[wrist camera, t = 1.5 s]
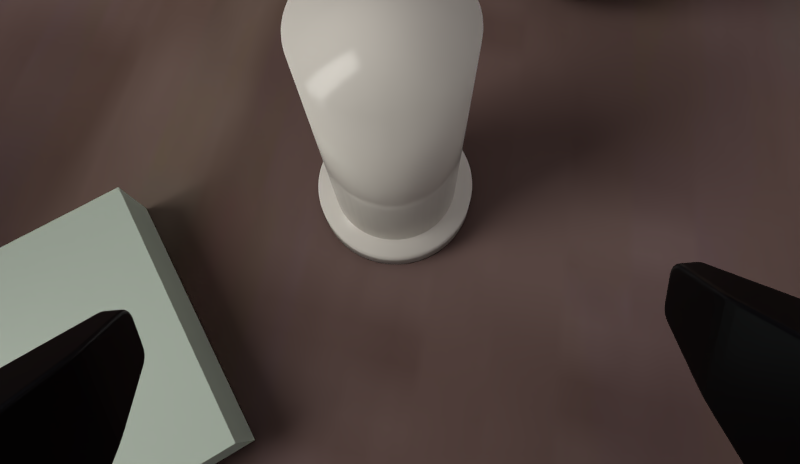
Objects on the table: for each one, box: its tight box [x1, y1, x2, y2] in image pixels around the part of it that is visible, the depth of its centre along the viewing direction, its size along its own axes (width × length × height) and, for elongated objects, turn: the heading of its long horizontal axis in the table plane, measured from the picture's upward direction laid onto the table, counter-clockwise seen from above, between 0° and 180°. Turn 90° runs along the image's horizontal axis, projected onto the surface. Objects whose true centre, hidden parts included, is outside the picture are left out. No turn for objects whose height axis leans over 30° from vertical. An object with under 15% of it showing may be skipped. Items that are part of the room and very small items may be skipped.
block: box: [0, 187, 255, 464], centre depth 21 cm, size 11×11×2 cm
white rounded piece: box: [281, 0, 483, 264], centre depth 19 cm, size 6×6×11 cm
